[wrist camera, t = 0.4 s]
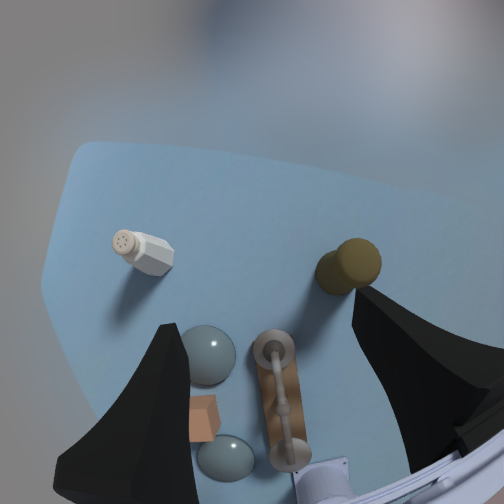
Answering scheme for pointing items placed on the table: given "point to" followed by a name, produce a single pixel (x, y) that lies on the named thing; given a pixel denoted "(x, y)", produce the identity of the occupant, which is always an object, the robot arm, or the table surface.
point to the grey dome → (208, 354)
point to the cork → (349, 267)
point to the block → (203, 418)
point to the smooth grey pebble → (226, 458)
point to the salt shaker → (144, 252)
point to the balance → (281, 400)
